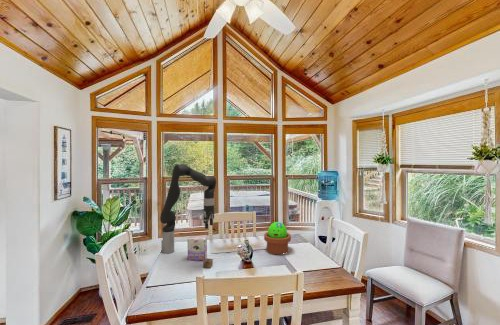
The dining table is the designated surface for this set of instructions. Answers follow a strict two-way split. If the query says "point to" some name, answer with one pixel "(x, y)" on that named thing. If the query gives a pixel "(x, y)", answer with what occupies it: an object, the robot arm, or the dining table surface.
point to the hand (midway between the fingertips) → (209, 226)
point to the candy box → (197, 248)
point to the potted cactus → (277, 238)
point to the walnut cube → (207, 263)
